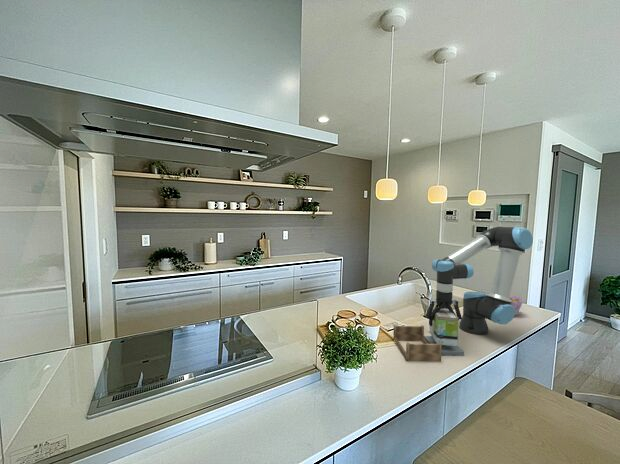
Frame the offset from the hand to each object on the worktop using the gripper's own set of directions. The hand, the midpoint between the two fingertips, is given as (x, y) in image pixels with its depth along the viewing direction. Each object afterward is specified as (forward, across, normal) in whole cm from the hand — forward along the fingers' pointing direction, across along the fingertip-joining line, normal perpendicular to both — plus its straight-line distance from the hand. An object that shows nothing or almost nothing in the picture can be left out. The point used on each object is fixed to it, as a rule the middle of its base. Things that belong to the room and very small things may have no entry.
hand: (442, 331), depth 137 cm
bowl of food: (+8, -68, -49) cm, 84 cm away
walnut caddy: (+8, +15, +3) cm, 18 cm away
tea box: (+4, 0, 0) cm, 4 cm away
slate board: (+8, 0, 0) cm, 8 cm away
